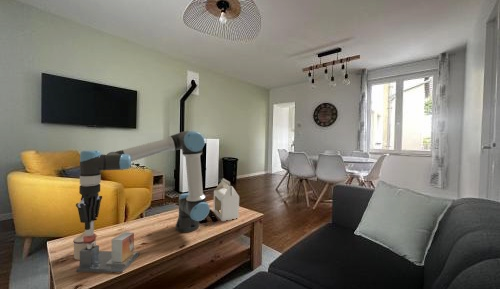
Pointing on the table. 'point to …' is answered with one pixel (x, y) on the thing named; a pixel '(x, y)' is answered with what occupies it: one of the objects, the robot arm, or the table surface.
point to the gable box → (226, 201)
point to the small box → (122, 247)
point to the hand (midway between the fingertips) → (89, 235)
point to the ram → (89, 241)
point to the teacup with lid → (79, 245)
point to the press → (102, 261)
